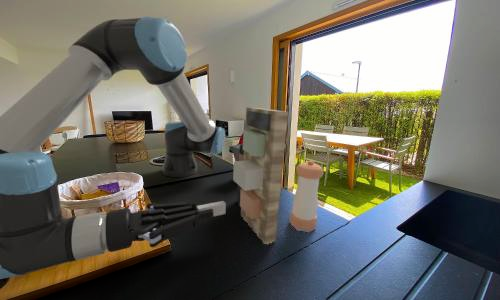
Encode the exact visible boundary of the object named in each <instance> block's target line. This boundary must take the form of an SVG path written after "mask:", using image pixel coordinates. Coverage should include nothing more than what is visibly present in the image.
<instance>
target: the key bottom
mask: <svg viewBox="0 0 500 300" xmlns="http://www.w3.org/2000/svg"><path fill="white" fill-rule="evenodd" d="M239 207H240V209H241V208H242V209H243V210H244V211H245V212H246V213H247V215H248V216H249V217H250V218H251V219H255V218H259V217H260V211H261V198H260V197H259V196H258V195H257V194H255V193H254V192H253V191H252V190H247V191H244V190H243V189H241V193H240V206H239Z"/></svg>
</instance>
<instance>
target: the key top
mask: <svg viewBox="0 0 500 300" xmlns="http://www.w3.org/2000/svg"><path fill="white" fill-rule="evenodd" d="M242 134H243V136H242V138H243V139H242V144H243V150H244V151H246V152H248V153H250V154H252V155H253V156H255V157H260V156H265V145H266V134H265V133H262V132H259V131H256V130H245V129H244V130H243V133H242Z"/></svg>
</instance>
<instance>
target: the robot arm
mask: <svg viewBox="0 0 500 300" xmlns="http://www.w3.org/2000/svg"><path fill="white" fill-rule="evenodd" d="M185 43H186V42H185V41H184V38H183V36H182V33H181V32H180V31H179V29H178V28H177V27H176V26H175V24H173V23H172V22H171V21H169V20H167V19H165V18H163V17H162V18H161V17H153V16H143V17H137V18H124V19H123V18H121V19H109V20H105V21H102V22H101V23H99V24H97V25H96V26H94V27H92V28H91V29H90V30H88V31H87V32H86V33H84V34H83V35H82V36H81V37H80V38H78V39H77V40H76V41H75V42H74V43H73V44H72V45H71V46H69V47H68V49H67V53H68V56H67V57H66V58H64V59H63V60H62V61H61V62H60V63H58V64H57V66H56V67H55V68H53V69H52V70H50V72H49V73H47V74H46V76H44V77H43V78H42V79H41V80H40V81H39V82H38V83H36V84H35V85H34V86H33V87H31V89H30V90H28V92H26V93H25V94H24V95H23V96H22V97H21V98H19V99H18V100H17V101H16V102H15V103H14V104H13V105H12V106H11V107H9V108H8V109H7V110H6V111H5V112H4V113H2V114H1V116H0V280H2V279H9V278H12V277H22V276H25V275H27V274H30V273H35V272H37V271H40V270H44V269H47V268H52V267H55V266H59V265H63V264H66V263H72V262H77V261H80V260H83V259H84V260H85V259H88V258H92V257H96V256H100V255H104V254H105V253H106V251H108V252H110V253H113V252H118V251H121V250H125V249H130V248H131V247H132V245H133V242H143V241H147V242H149V247H150V248H155V247H156V246H158V245H160V244H161V243H162V242H164V241H166V240H170V239H171V238H174V237H177V236H180V235H182V234H185V233H187V232H189V231H191V230H194V229H197V228H198V227H199V226H200V225H199V224H200V221H202V220H206V219H210V218H213V217H217V216H218V217H219V216H222V215H226V211H227V210H226V206H227V203H226V202H225V201H224V200H221V201H216V202H210V203H205V204H200V205H197V202H196V201H192V202H191V201H182V202H169V203H152V202H151V203H150V202H149V203H147V204H146V208H145V209H144V210H143V209H142V210H139V211H136V212H131V209H130V208H128V207H125V208H124V207H123V208H119V209H118V208H117V209H112V210H109V211H108V212H107V213H105V212H104V211H99V212H96V213H95V212H94V213H88V214H85V215H77V216H71V217H63V216H64V215H63V212H62V205H61V200H60V193H59V187H58V180H57V179H58V175H57V173H56V170H55V168H54V163H53V160H52V158H51V156H50V155H48V154H47V153H46V152H45V153H44V152H42V151H38V150H39V149H41V148H42V146H43V145H44V144H45V143H46V142H47V141H48V140H49V139H50V138H51V136H52V135H53V134H54V133H55V132H56V131H57V130H58V129H59V127H60V126H61V125H62V124H63V123H64V122H65V121H66V120H67V119H68V118H69V117H70V116H71V115H72V114H73V113H74V112H75V110H76V109H78V107H79V106H80V105H81V104H82V103H83V102H84V101H85V99H86V98H87V97H88V96H89V95H90V94H91V93H92V92H93V91H94V90H95V88H97V86H99V84H100V83H101V82H102V81H108V80H111V78H112V77H113V76H114V75H116V74H117V73H118V72H121V71H126V70H130V71H139V72H140V74H141V76H142V77H143V78H144V79H145V80H146V82H147V83H148V84H149V85H151V86H157V88H158V89H159V91H160V92H161V93H162V95H163V96H164V98H165V99H166V101H167V103H169V106H171V108H172V109H173V110H174V113H176V115H177V116H178V118H179V119H180V121H172V122H167V123H166V124H165V126H164V138H165V139H164V140H165V159H164V162H163V165H162V169H161V170H162V175H164V176H166V177H170V178H185V177H190V176H193V175H195V174H196V173H197V172H198V165H197V162H196V159H195V156H194V152H195V153H201V154H208V155H211V156H212V155H219V154H221V152H222V150H223V147H224V145H225V142H226V141H225V140H226V131H225V128H223V127H221V126H217V125H216V124H215V122H214V121H213V120H212V119H211V118H210V117H209V118H208V117H207V115H206V113H205V110H204V109H203V107H202V105H201V103H200V101H199V99H198V97H197V96H196V94H195V91H194V90H193V88H192V86H191V84H190V83H189V80H188V78H187V76H186V74H185V69H186V62H187V57H188V56H187V53H188V52H187V51H186V44H185Z"/></svg>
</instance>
